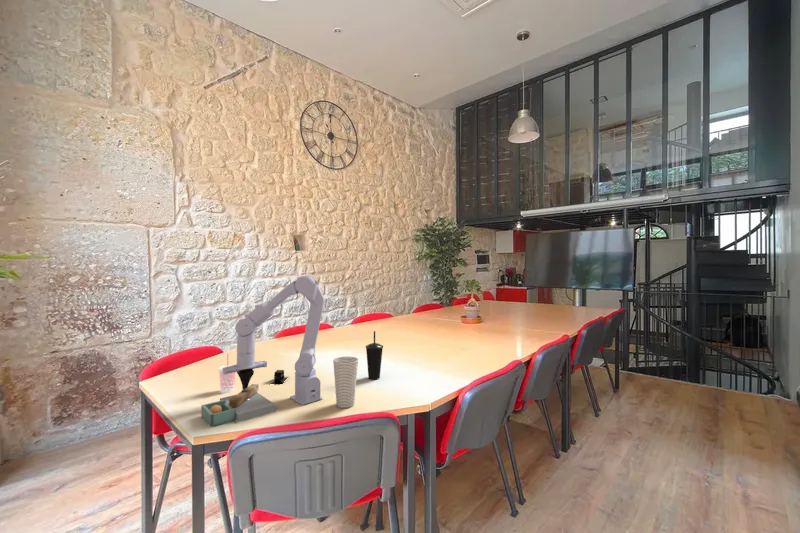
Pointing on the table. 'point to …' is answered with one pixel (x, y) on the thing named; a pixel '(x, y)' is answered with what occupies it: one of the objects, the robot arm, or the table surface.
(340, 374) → the cup
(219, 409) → the ball
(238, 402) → the lever
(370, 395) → the table surface
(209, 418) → the teal dish
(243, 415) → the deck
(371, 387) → the table surface
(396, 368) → the table surface
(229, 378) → the beverage cup
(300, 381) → the robot arm
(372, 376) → the drinking cup
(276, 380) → the black blocky device
